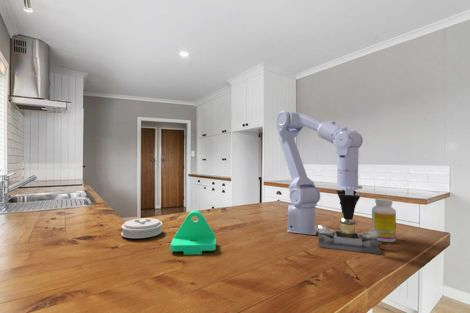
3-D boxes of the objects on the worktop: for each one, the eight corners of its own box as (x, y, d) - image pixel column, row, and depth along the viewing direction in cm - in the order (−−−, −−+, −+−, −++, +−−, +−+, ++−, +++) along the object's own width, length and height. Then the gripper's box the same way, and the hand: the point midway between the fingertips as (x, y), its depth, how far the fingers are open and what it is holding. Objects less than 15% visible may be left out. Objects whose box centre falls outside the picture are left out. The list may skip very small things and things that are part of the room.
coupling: (340, 242, 74) (340, 219, 74) (339, 238, 78) (339, 216, 78) (356, 244, 73) (356, 220, 73) (354, 240, 77) (354, 217, 77)
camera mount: (169, 255, 66) (170, 216, 66) (174, 245, 74) (174, 210, 74) (215, 254, 67) (216, 215, 67) (215, 244, 75) (215, 209, 75)
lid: (123, 231, 88) (123, 216, 88) (161, 228, 92) (161, 214, 92) (118, 243, 76) (119, 226, 76) (162, 239, 79) (163, 223, 80)
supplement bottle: (399, 243, 77) (399, 201, 77) (375, 242, 79) (376, 200, 79) (390, 237, 84) (390, 198, 84) (368, 235, 85) (369, 197, 85)
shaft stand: (315, 246, 74) (315, 228, 74) (316, 236, 83) (316, 220, 83) (383, 254, 68) (383, 234, 68) (376, 243, 77) (376, 225, 77)
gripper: (366, 172, 68) (365, 223, 68) (359, 170, 81) (358, 212, 81) (337, 171, 70) (337, 220, 70) (335, 169, 84) (335, 210, 84)
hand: (347, 216), depth 76 cm, fingers open, 7 cm apart
